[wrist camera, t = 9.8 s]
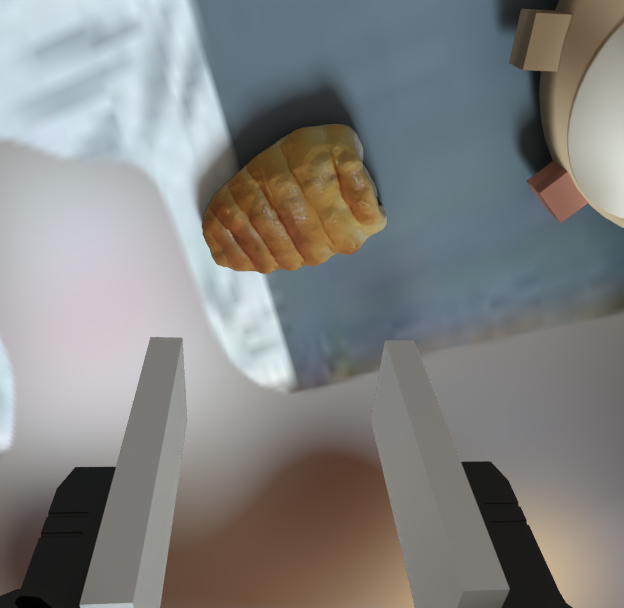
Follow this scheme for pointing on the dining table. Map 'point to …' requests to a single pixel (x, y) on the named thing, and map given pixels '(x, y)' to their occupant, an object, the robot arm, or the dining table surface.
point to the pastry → (295, 204)
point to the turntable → (578, 103)
